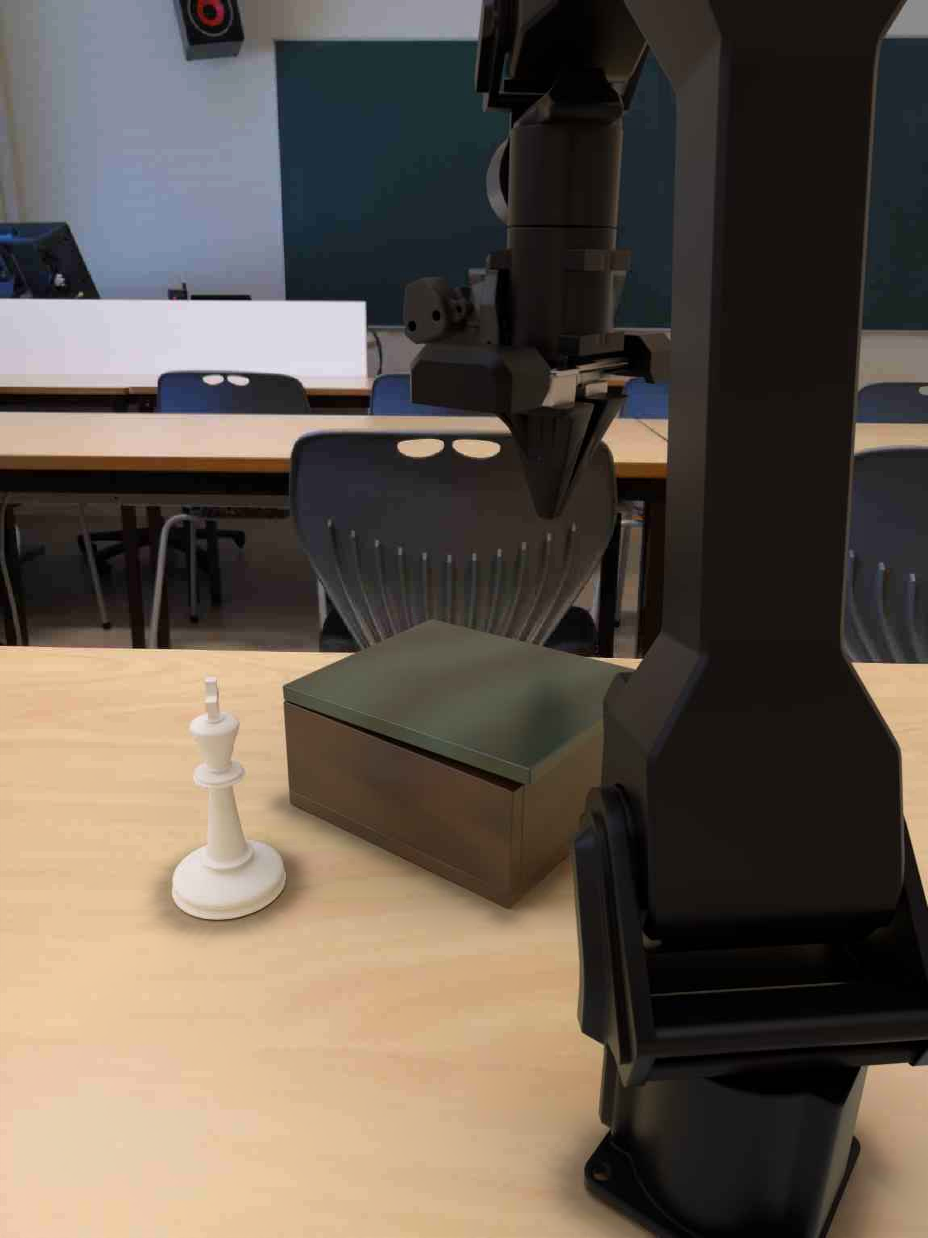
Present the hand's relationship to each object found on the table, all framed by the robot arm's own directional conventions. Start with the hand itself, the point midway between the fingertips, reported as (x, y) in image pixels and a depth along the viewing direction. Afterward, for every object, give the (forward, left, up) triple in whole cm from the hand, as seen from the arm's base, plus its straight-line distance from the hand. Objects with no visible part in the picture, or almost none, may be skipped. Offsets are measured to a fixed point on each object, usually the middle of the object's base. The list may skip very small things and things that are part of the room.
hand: (548, 517), depth 55 cm
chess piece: (+1, +24, -12) cm, 27 cm away
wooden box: (-3, +12, -12) cm, 17 cm away
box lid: (-3, +12, -6) cm, 14 cm away
